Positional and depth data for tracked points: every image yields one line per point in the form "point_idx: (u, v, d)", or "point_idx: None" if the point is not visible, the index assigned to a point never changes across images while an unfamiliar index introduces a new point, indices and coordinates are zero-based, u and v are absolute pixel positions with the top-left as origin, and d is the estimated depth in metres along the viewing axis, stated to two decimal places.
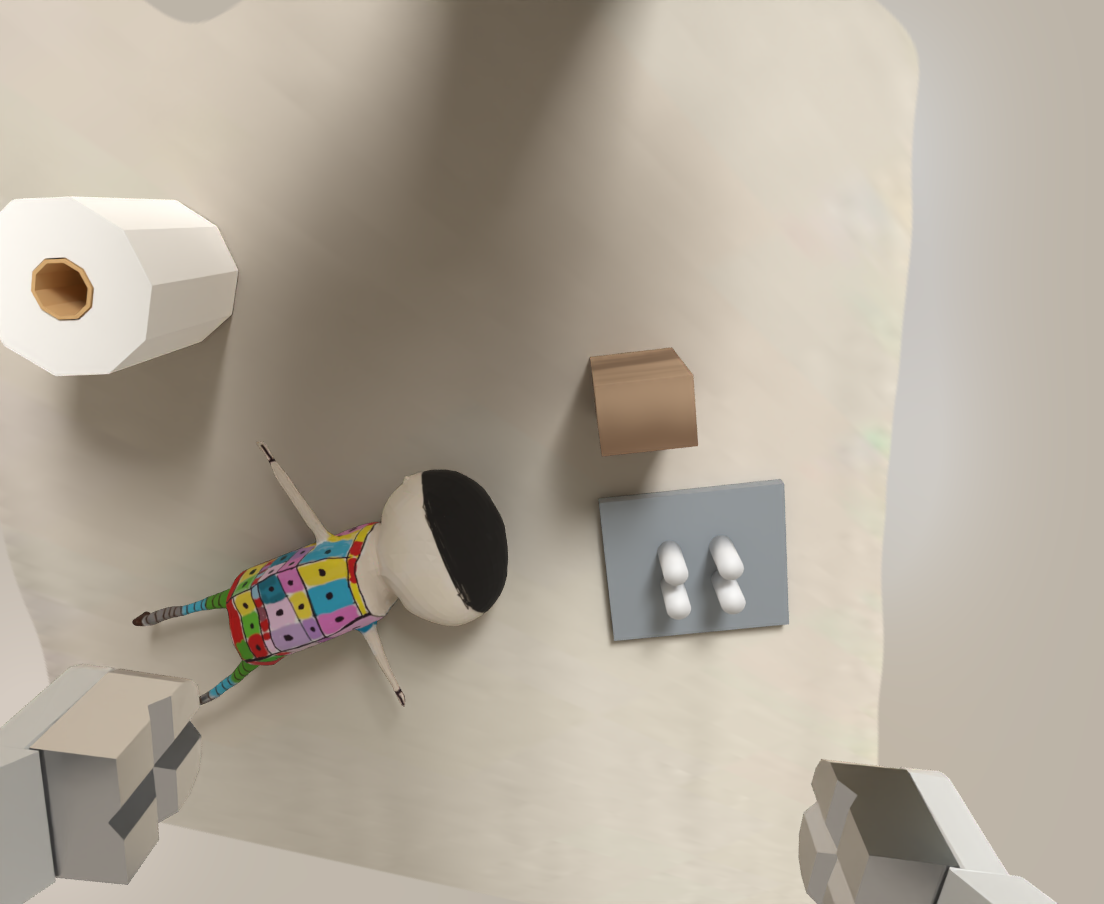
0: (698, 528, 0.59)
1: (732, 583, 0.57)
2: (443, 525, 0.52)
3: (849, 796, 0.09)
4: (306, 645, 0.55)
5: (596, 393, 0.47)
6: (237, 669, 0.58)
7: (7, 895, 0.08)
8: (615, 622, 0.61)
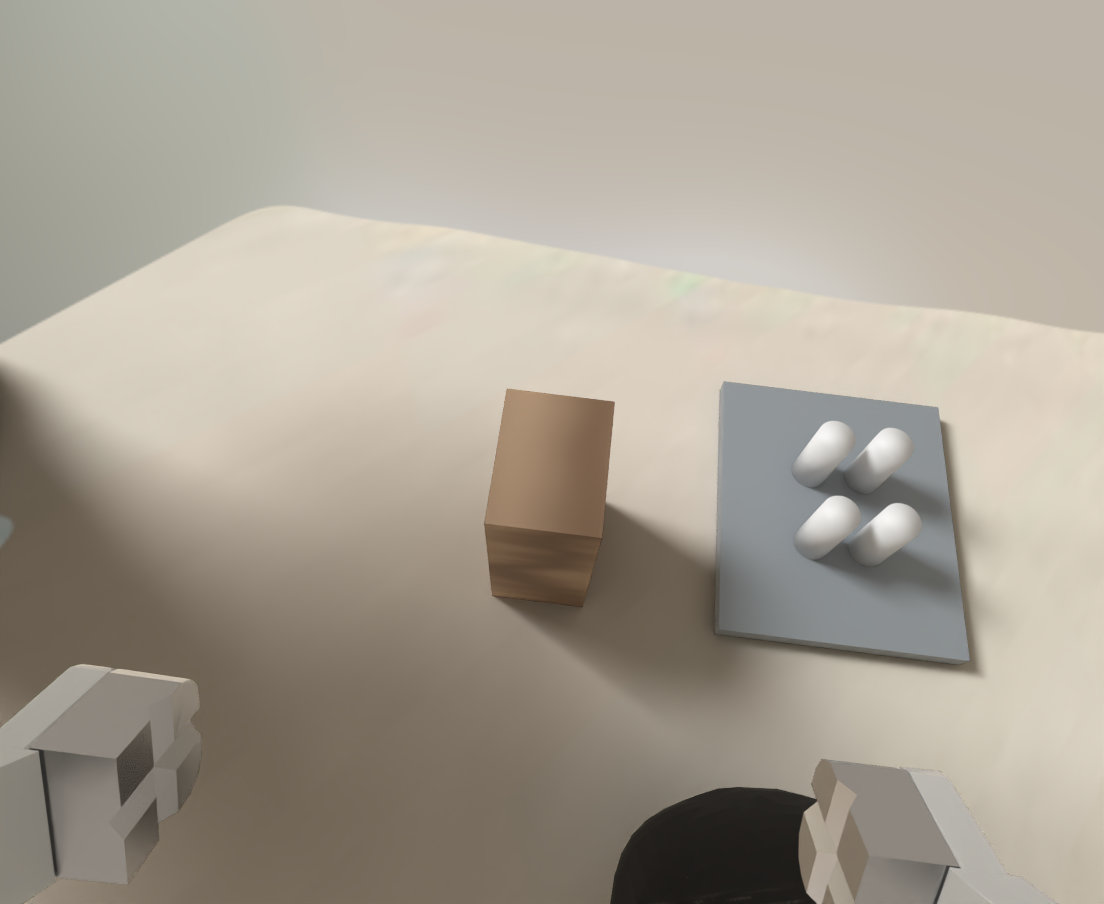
0: (778, 496, 0.40)
1: (864, 450, 0.38)
2: (703, 885, 0.26)
3: (849, 796, 0.09)
4: None
5: (496, 522, 0.29)
6: None
7: (7, 895, 0.08)
8: (933, 650, 0.37)
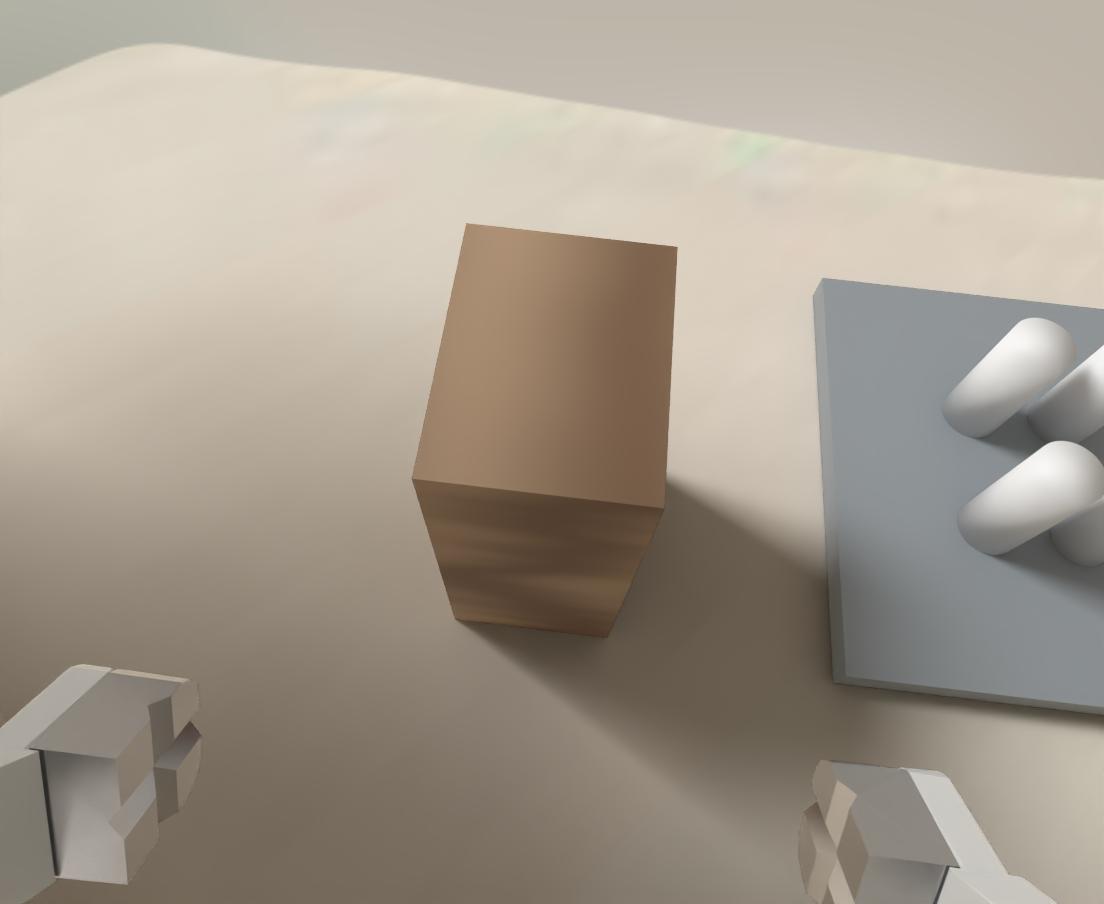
0: (924, 452, 0.24)
1: (1078, 370, 0.23)
2: None
3: (849, 796, 0.09)
4: None
5: (437, 476, 0.14)
6: None
7: (8, 895, 0.08)
8: None
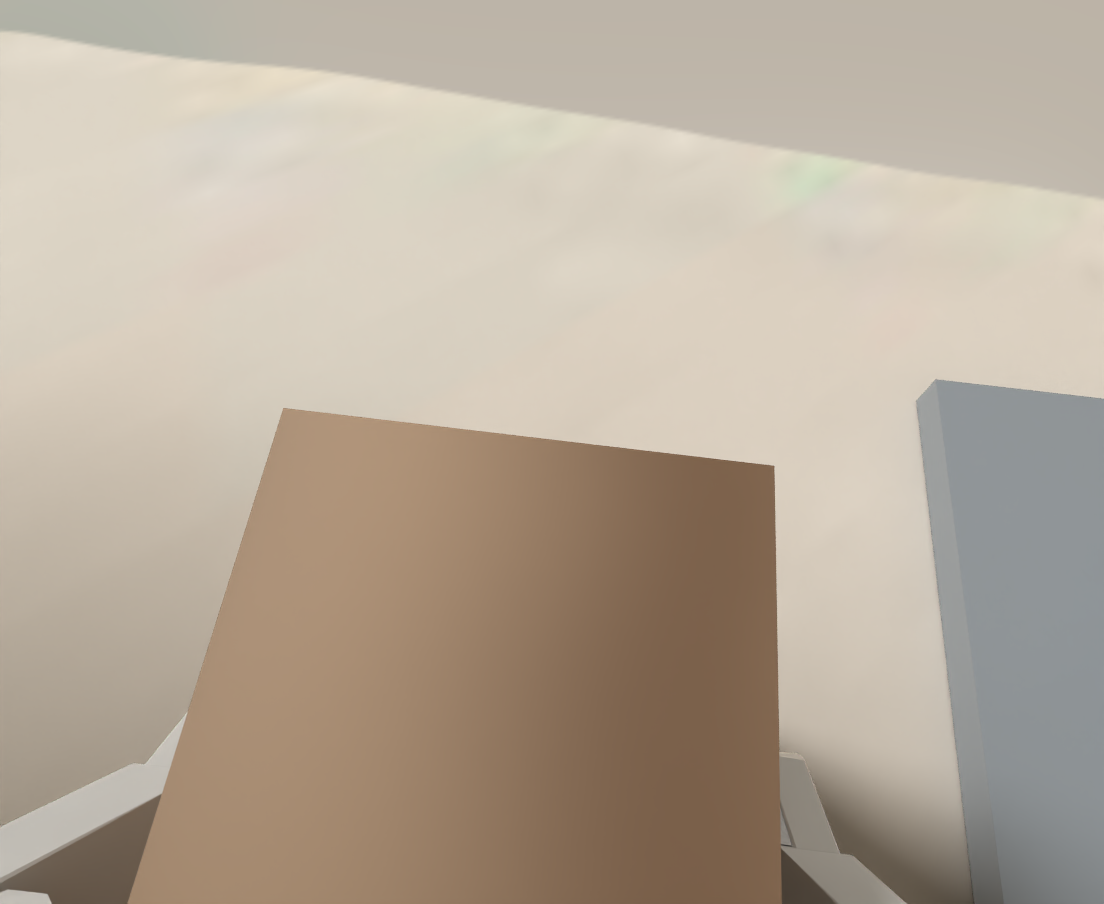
0: None
1: None
2: None
3: None
4: None
5: None
6: None
7: None
8: None
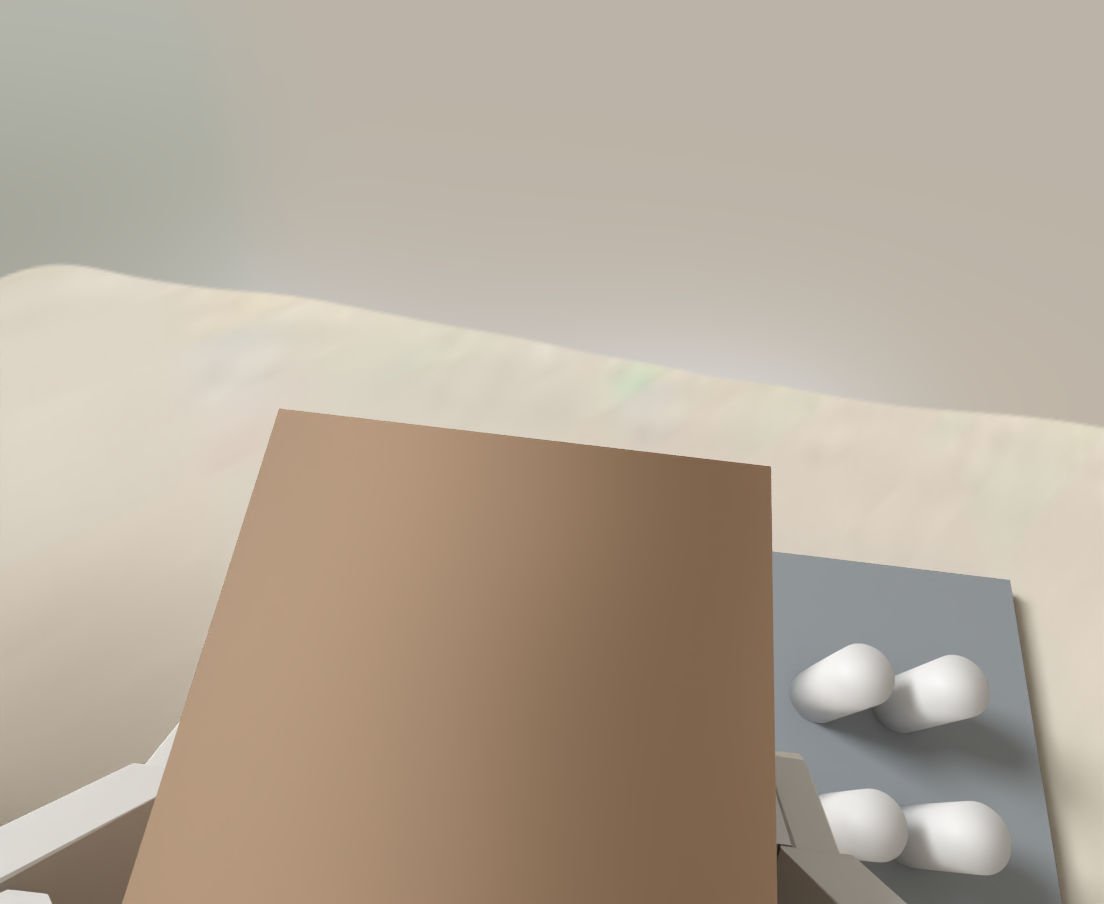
0: None
1: (906, 680, 0.24)
2: None
3: None
4: None
5: None
6: None
7: None
8: None
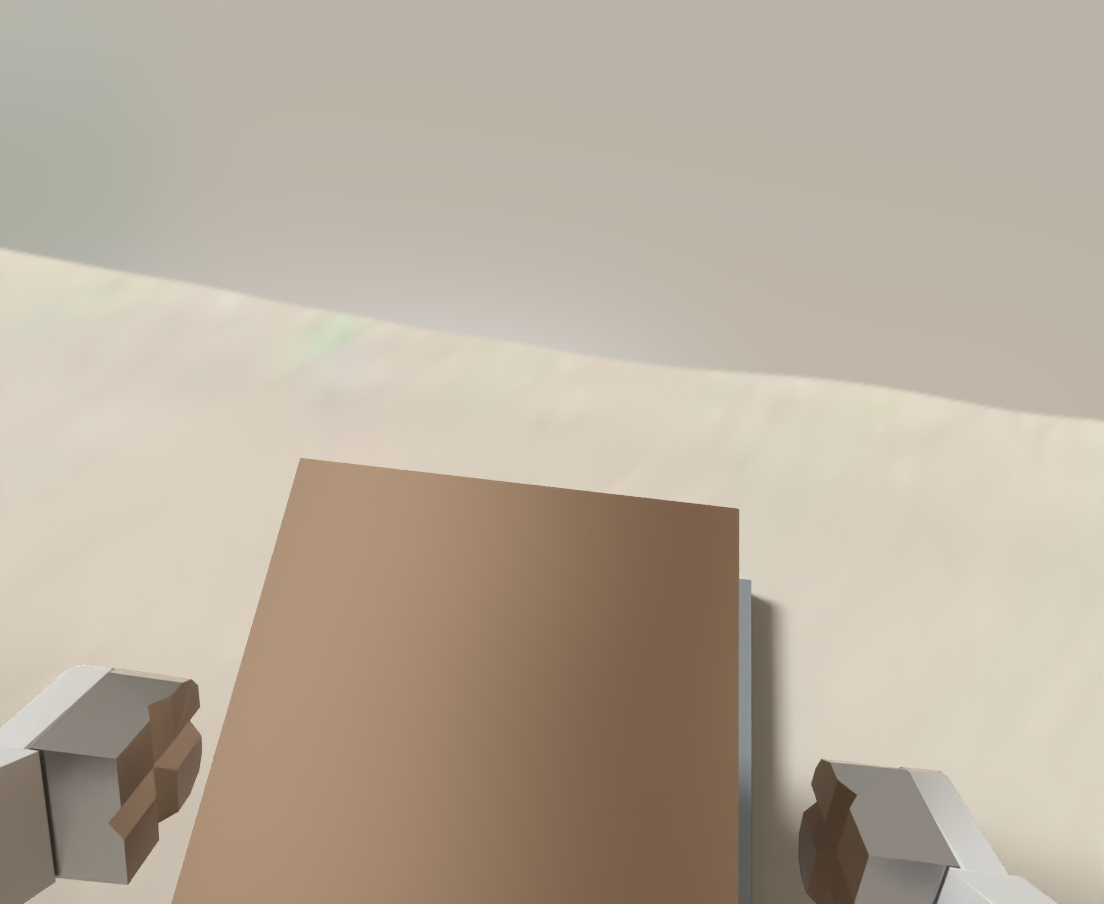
0: None
1: None
2: None
3: (849, 796, 0.09)
4: None
5: None
6: None
7: (7, 895, 0.08)
8: None
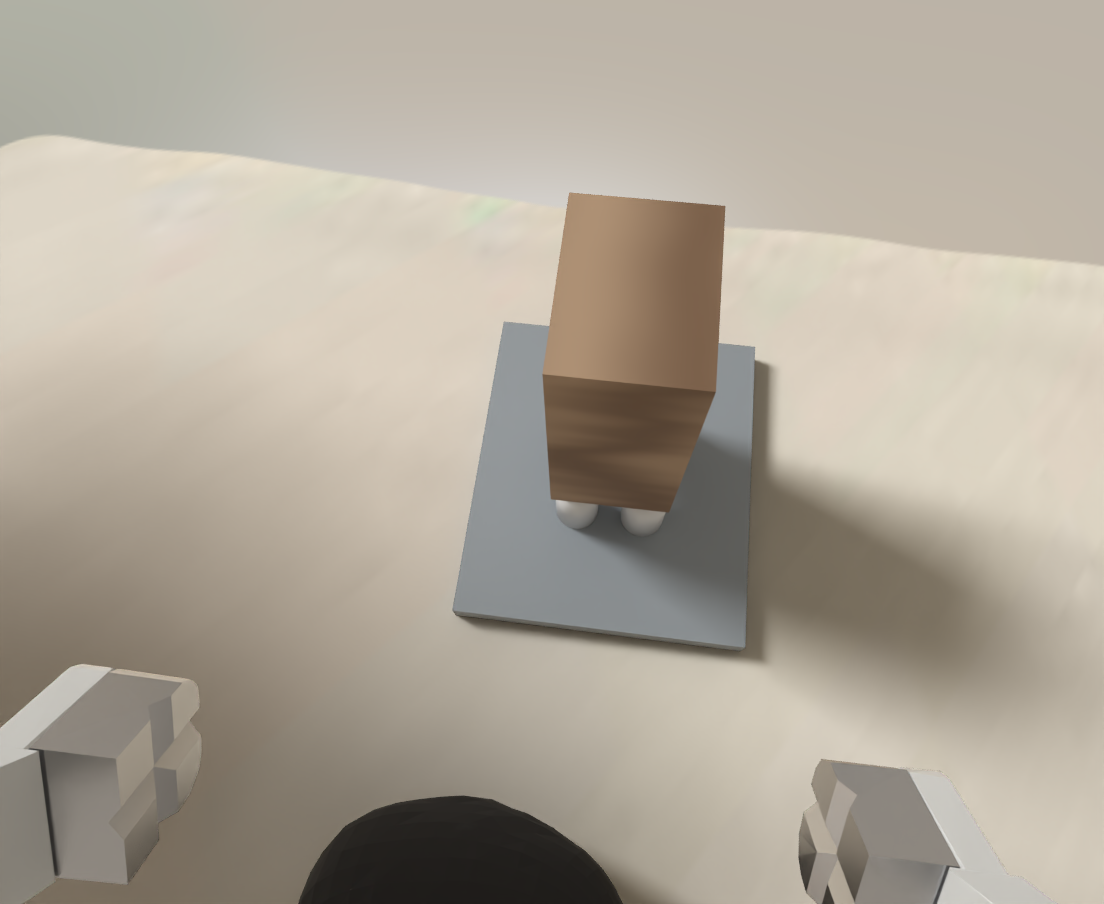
0: (546, 454, 0.34)
1: None
2: (362, 903, 0.22)
3: (849, 796, 0.09)
4: None
5: (559, 372, 0.20)
6: None
7: (8, 895, 0.08)
8: (703, 636, 0.31)
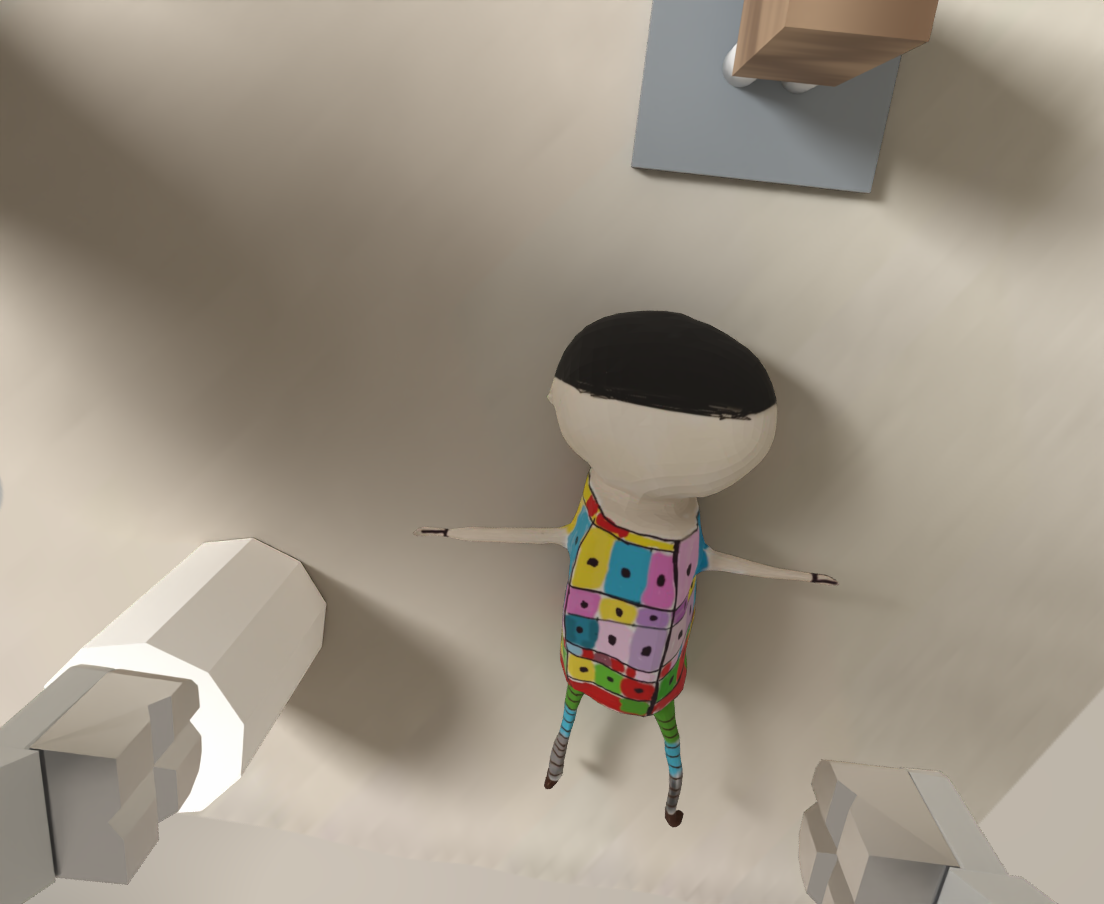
0: (715, 8, 0.36)
1: None
2: (615, 380, 0.36)
3: (849, 796, 0.09)
4: (670, 638, 0.39)
5: (799, 24, 0.24)
6: (661, 728, 0.44)
7: (9, 895, 0.08)
8: (837, 183, 0.38)
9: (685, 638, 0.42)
